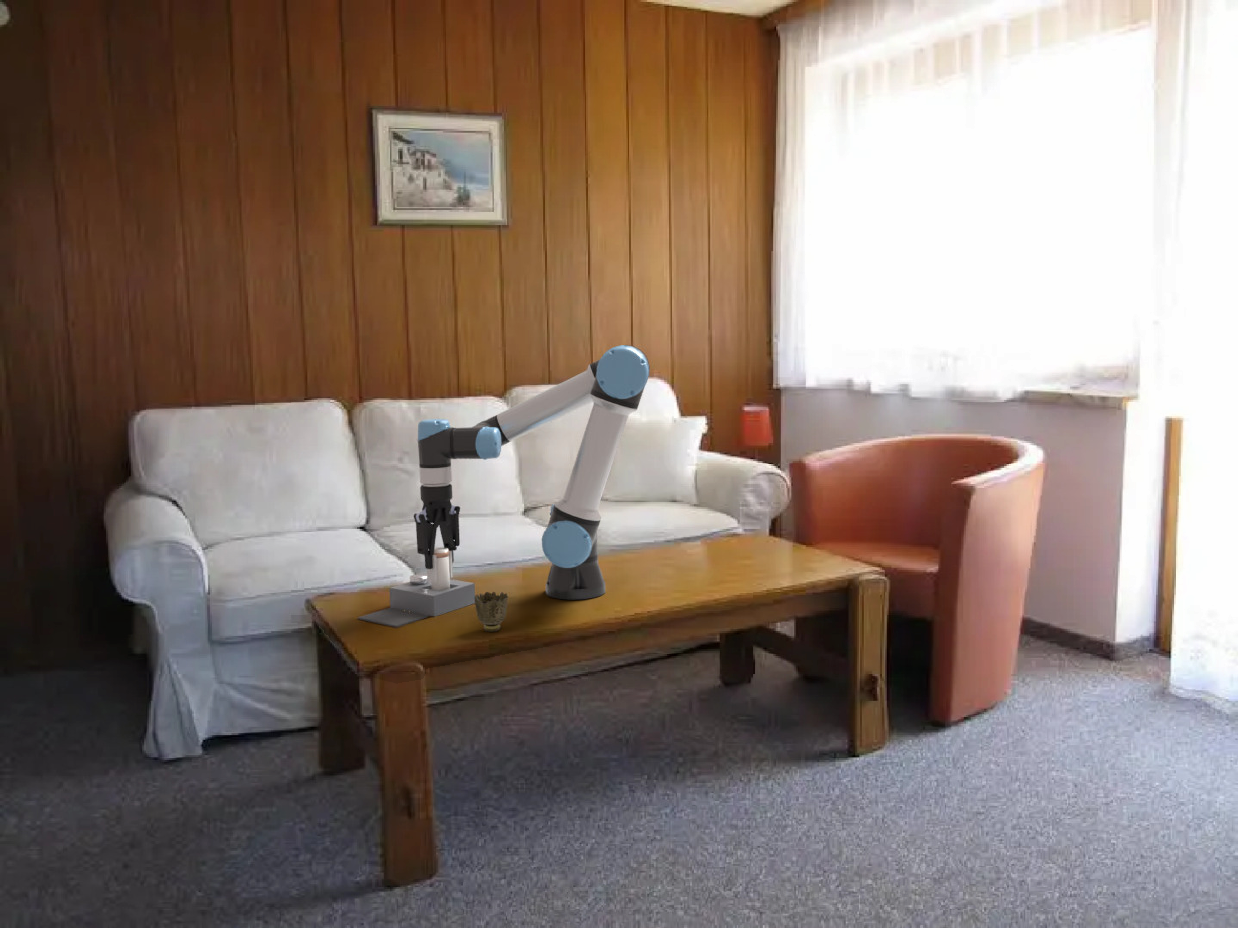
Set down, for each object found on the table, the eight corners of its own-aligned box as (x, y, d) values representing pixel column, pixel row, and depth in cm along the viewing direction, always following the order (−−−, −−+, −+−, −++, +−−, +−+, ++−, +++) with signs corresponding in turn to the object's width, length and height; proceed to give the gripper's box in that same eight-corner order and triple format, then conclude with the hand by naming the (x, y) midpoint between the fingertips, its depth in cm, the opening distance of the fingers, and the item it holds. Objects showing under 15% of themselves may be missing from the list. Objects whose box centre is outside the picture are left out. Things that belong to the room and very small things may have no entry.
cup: (469, 633, 234) (468, 598, 233) (485, 624, 241) (483, 590, 240) (499, 636, 232) (498, 601, 231) (514, 627, 239) (513, 592, 237)
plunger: (432, 599, 261) (431, 575, 260) (419, 603, 258) (418, 579, 257) (420, 596, 264) (418, 573, 263) (407, 600, 260) (405, 577, 259)
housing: (475, 603, 259) (474, 583, 259) (434, 616, 248) (433, 596, 247) (431, 594, 268) (430, 575, 267) (390, 607, 257) (389, 587, 256)
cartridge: (455, 604, 257) (452, 548, 255) (441, 609, 253) (439, 552, 251) (441, 602, 260) (438, 546, 258) (427, 606, 256) (425, 550, 254)
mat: (428, 617, 248) (428, 615, 248) (396, 627, 240) (396, 625, 240) (390, 609, 255) (390, 607, 255) (358, 619, 247) (357, 617, 247)
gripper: (450, 477, 262) (454, 569, 265) (397, 488, 247) (402, 584, 251) (472, 480, 257) (476, 573, 260) (420, 490, 243) (425, 589, 246)
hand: (440, 578), depth 256 cm, fingers closed on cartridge, 4 cm apart
